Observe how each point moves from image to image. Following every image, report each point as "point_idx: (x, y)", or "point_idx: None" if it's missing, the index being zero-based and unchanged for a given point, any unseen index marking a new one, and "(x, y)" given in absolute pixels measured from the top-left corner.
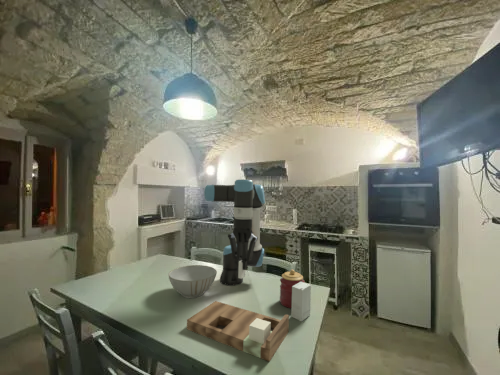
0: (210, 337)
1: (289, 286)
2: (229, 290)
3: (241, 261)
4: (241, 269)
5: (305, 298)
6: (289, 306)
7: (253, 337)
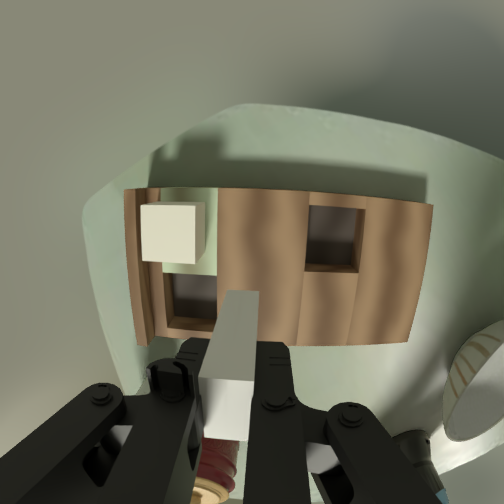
0: (339, 193)
1: None
2: (392, 420)
3: (187, 367)
4: (218, 326)
5: None
6: None
7: (187, 202)
